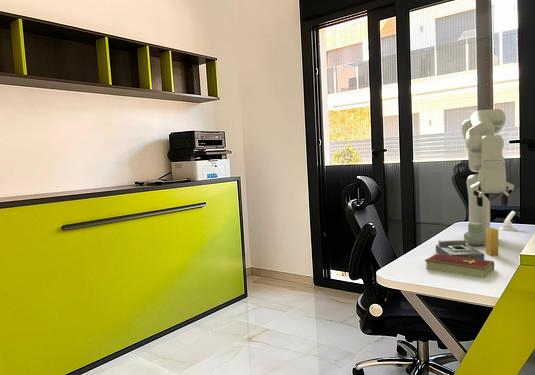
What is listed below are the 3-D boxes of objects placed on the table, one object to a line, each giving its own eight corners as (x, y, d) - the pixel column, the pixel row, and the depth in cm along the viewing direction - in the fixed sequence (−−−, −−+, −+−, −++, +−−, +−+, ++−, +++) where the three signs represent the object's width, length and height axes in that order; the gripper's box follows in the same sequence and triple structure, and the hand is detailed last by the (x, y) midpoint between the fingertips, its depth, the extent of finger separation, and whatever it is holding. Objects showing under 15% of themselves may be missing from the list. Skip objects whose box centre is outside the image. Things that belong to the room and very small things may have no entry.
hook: (527, 219, 217) (520, 213, 214) (514, 238, 218) (506, 232, 215) (515, 215, 224) (508, 209, 221) (502, 232, 225) (495, 227, 222)
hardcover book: (436, 263, 165) (436, 252, 165) (494, 271, 151) (494, 260, 151) (425, 270, 157) (424, 259, 156) (485, 279, 142) (484, 267, 142)
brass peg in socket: (486, 253, 174) (485, 228, 174) (493, 253, 174) (493, 227, 173) (490, 256, 170) (490, 230, 169) (498, 255, 170) (498, 229, 169)
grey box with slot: (435, 251, 182) (435, 240, 181) (466, 250, 181) (465, 239, 180) (450, 262, 164) (450, 250, 163) (484, 261, 163) (484, 249, 162)
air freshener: (488, 247, 185) (488, 225, 184) (468, 247, 186) (468, 225, 186) (481, 241, 195) (481, 221, 194) (462, 241, 197) (462, 221, 196)
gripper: (509, 163, 172) (509, 204, 173) (466, 165, 174) (467, 205, 175) (518, 164, 165) (518, 206, 166) (474, 166, 166) (474, 207, 167)
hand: (492, 205), depth 170 cm, fingers open, 9 cm apart
